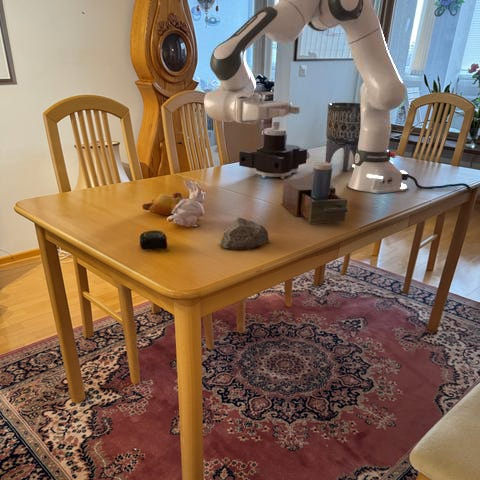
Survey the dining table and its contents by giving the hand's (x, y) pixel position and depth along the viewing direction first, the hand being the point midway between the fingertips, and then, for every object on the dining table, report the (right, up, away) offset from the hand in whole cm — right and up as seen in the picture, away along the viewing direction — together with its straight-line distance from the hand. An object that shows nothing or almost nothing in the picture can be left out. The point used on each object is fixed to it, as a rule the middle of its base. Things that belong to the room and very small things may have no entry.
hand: (292, 111), depth 132 cm
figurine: (-31, -32, +3) cm, 45 cm away
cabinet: (+7, -24, +19) cm, 31 cm away
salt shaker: (+9, -28, +8) cm, 30 cm away
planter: (+33, +10, +79) cm, 86 cm away
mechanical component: (+2, +3, +65) cm, 65 cm away
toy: (-39, -26, +14) cm, 49 cm away
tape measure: (-37, -42, -14) cm, 58 cm away
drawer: (+10, -29, +8) cm, 32 cm away
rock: (-13, -40, -10) cm, 44 cm away
